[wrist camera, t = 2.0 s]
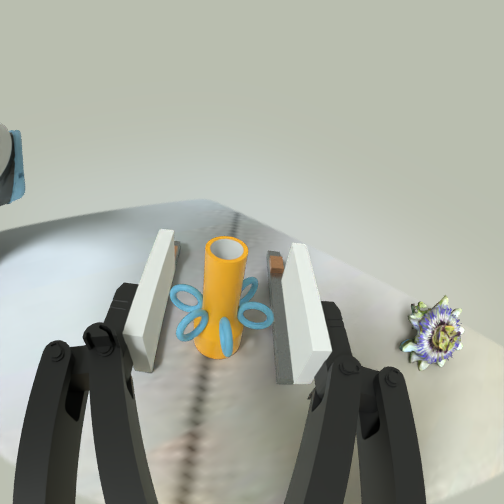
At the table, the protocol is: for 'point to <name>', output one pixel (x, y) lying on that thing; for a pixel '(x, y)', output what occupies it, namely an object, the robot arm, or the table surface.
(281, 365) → the guide track
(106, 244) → the table surface
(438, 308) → the passion flower
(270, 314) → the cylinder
